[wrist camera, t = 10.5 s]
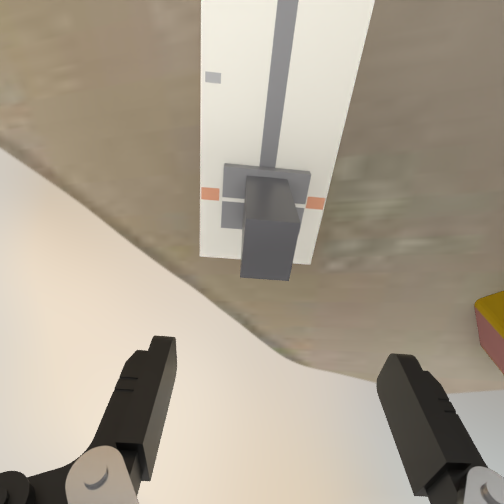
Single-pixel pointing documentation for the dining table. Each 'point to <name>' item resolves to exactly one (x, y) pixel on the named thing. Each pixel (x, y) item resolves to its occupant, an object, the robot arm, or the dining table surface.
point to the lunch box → (492, 326)
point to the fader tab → (265, 216)
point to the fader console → (275, 100)
